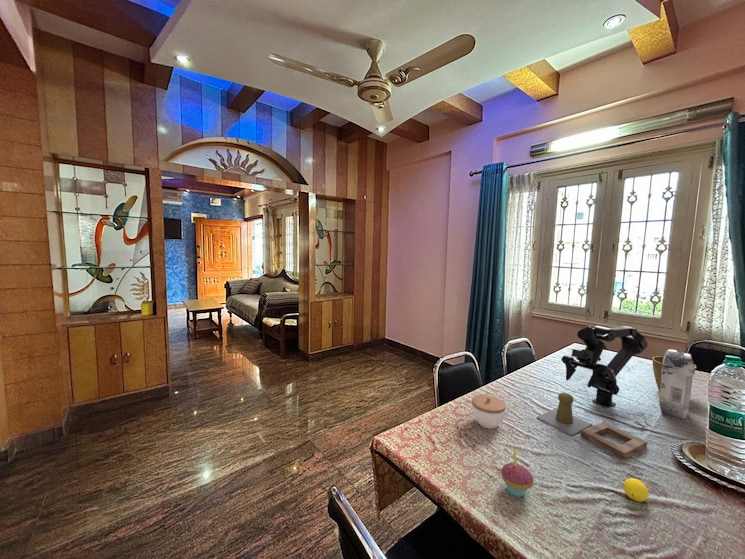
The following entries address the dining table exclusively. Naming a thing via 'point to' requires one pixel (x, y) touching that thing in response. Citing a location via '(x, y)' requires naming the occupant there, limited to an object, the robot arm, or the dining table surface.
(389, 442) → the dining table surface
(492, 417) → the lidded bowl
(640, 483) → the lemon
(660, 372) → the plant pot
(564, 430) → the grey mat
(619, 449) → the socket block
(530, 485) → the cupcake
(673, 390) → the juice carton
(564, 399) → the cork
